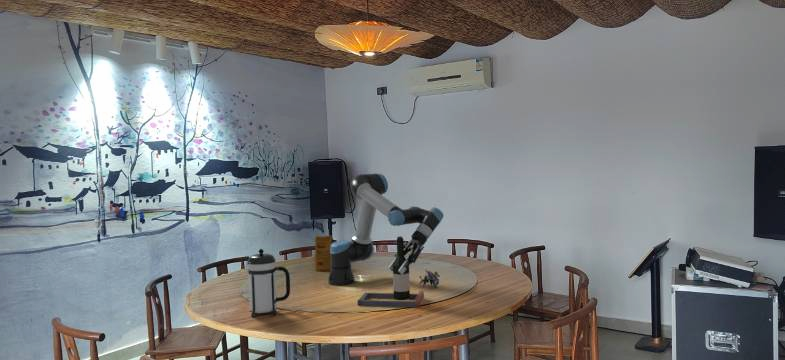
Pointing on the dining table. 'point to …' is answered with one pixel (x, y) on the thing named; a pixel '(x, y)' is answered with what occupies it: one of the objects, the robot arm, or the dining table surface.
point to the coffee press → (264, 283)
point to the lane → (365, 302)
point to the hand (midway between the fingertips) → (395, 271)
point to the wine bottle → (400, 280)
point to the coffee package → (322, 253)
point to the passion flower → (431, 279)
